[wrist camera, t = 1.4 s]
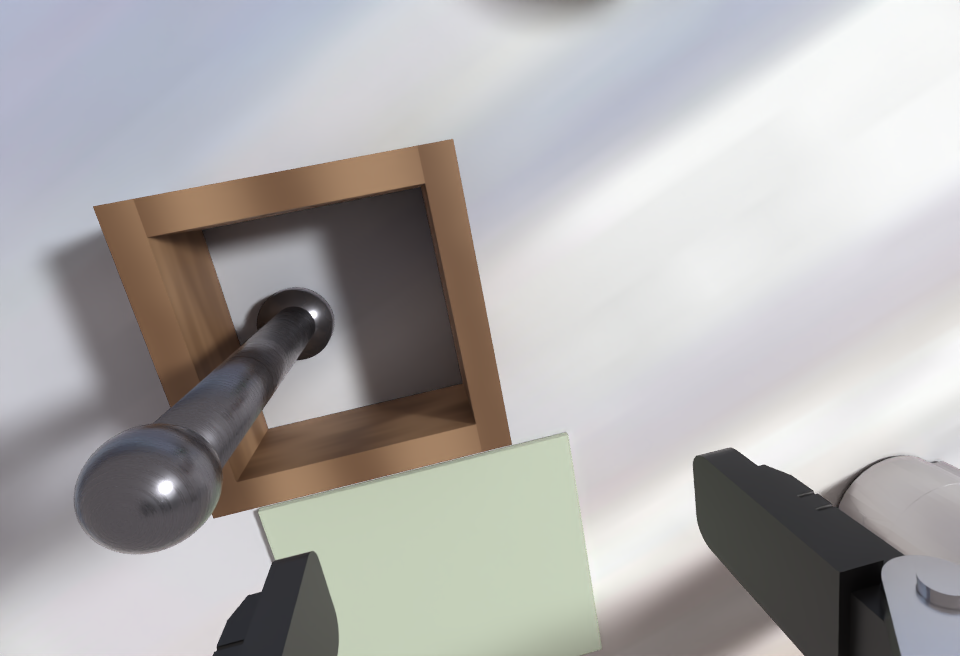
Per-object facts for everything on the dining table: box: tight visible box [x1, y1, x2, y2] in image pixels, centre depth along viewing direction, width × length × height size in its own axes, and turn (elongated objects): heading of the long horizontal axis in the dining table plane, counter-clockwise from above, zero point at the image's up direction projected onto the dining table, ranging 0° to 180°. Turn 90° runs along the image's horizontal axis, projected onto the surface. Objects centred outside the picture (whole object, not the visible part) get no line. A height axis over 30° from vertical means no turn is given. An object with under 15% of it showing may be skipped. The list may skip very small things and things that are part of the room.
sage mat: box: [258, 432, 602, 656], centre depth 34 cm, size 20×18×1 cm
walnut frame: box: [93, 139, 512, 518], centre depth 26 cm, size 15×15×6 cm
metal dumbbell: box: [74, 287, 334, 554], centre depth 20 cm, size 4×4×19 cm
